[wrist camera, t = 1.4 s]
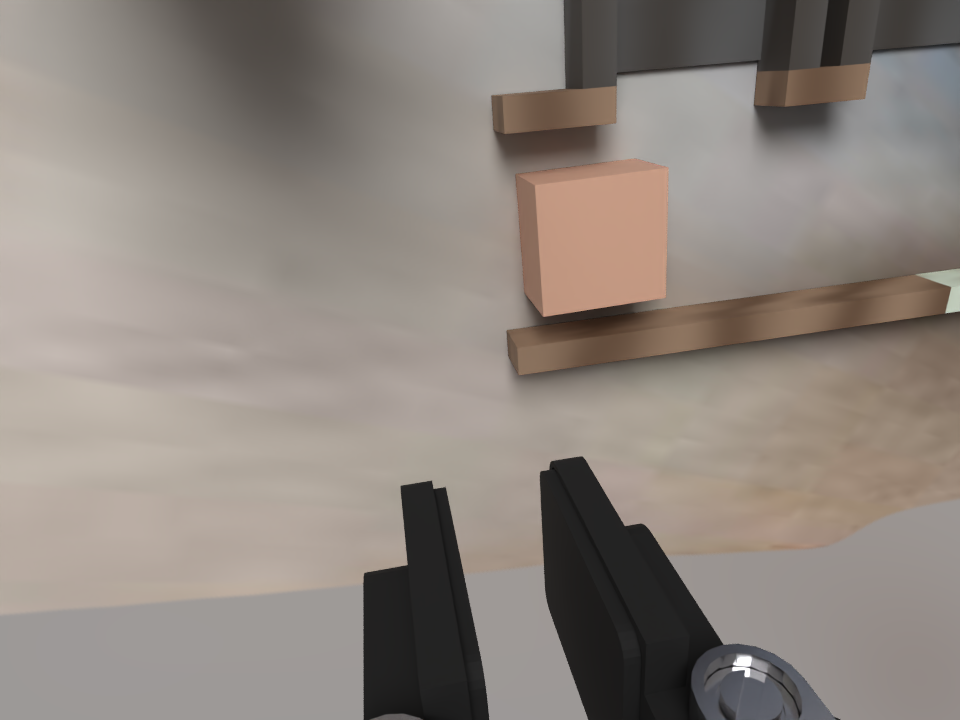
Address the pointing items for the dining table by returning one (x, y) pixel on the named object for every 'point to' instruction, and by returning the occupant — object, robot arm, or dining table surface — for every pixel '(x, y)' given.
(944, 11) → the trap lane
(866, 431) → the dining table surface
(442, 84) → the dining table surface
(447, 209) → the dining table surface
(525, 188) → the block
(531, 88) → the dining table surface
